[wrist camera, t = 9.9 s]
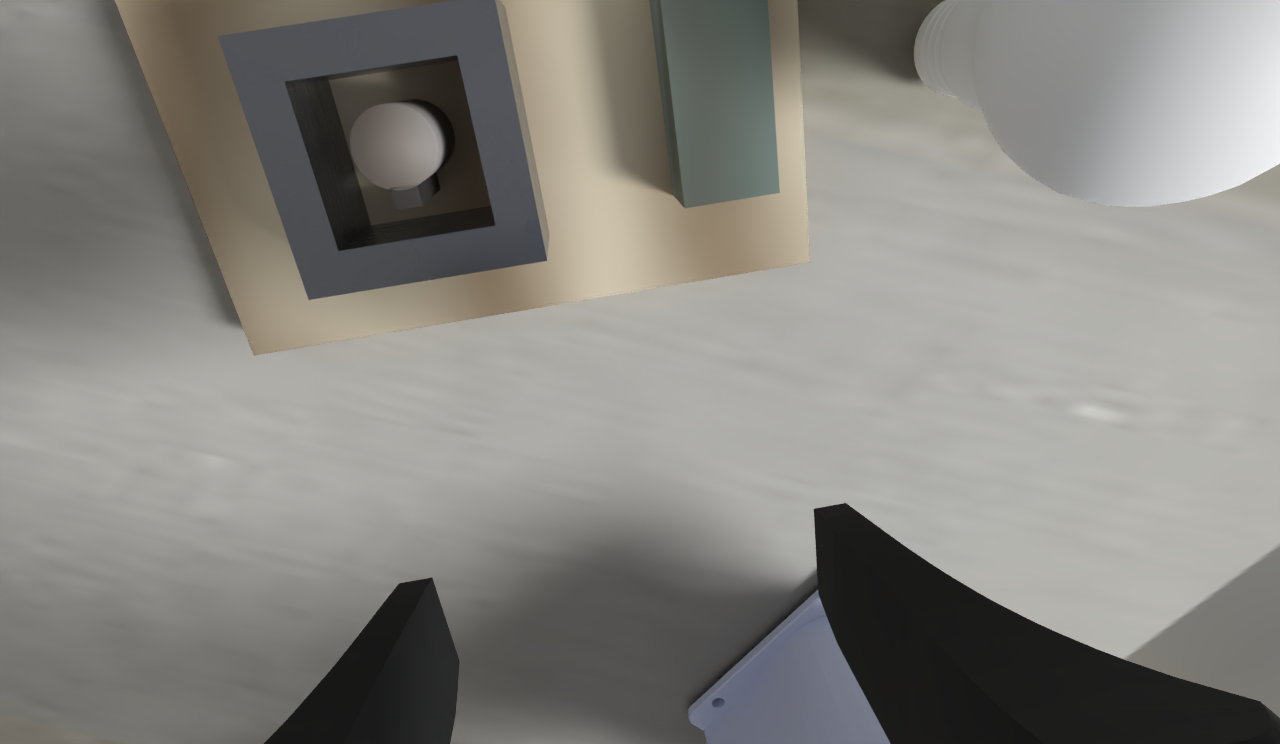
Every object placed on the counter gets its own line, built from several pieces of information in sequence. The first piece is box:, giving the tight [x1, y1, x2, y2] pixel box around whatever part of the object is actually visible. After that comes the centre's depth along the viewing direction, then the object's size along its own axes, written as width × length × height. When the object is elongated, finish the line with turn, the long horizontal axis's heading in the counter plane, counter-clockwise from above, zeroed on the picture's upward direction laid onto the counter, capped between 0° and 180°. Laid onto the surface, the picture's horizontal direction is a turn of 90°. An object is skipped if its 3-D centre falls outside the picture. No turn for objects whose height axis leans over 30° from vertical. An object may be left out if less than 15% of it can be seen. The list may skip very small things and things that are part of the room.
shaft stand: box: [115, 0, 810, 355], centre depth 17 cm, size 16×10×4 cm, turn 98°
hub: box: [218, 0, 550, 300], centre depth 17 cm, size 6×6×3 cm
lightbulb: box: [914, 0, 1280, 207], centre depth 15 cm, size 6×6×11 cm
